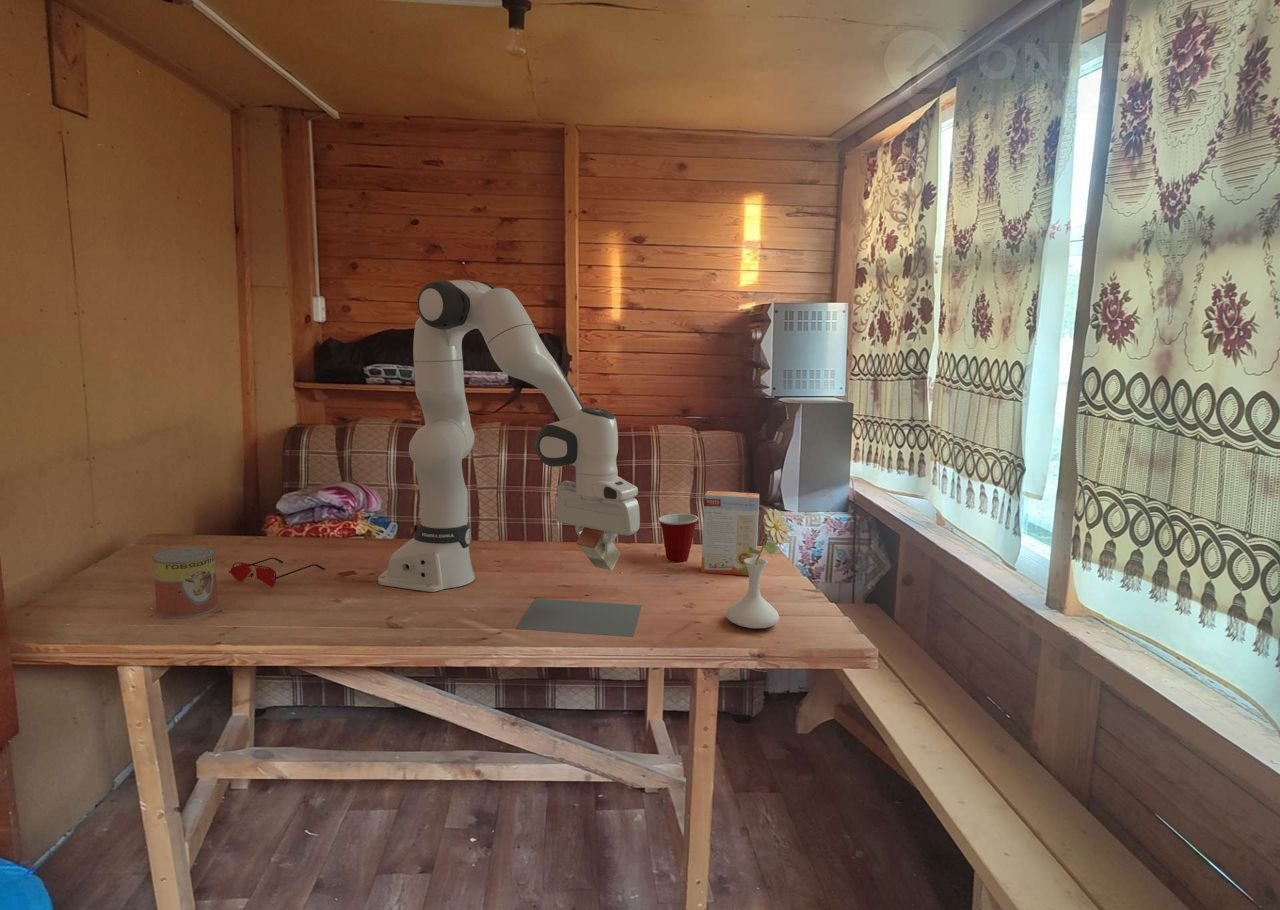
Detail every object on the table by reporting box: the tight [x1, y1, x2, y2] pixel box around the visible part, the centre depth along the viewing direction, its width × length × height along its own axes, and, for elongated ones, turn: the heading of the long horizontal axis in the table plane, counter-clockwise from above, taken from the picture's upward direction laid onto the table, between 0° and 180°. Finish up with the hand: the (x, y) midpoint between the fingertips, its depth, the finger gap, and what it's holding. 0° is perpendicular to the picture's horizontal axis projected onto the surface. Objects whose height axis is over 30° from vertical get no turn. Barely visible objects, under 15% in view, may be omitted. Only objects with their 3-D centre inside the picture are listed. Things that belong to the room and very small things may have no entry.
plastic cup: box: [657, 513, 699, 563], centre depth 205 cm, size 11×11×12 cm
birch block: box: [575, 527, 621, 571], centre depth 163 cm, size 4×4×10 cm
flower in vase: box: [725, 508, 791, 629], centre depth 160 cm, size 13×11×25 cm
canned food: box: [151, 545, 219, 619], centre depth 159 cm, size 11×11×12 cm
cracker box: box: [701, 490, 760, 577], centre depth 196 cm, size 14×6×21 cm, turn 80°
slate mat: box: [515, 597, 642, 638], centre depth 161 cm, size 24×18×1 cm
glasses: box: [228, 557, 326, 588], centre depth 183 cm, size 14×16×5 cm
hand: (595, 548), depth 162 cm, fingers closed on birch block, 4 cm apart
